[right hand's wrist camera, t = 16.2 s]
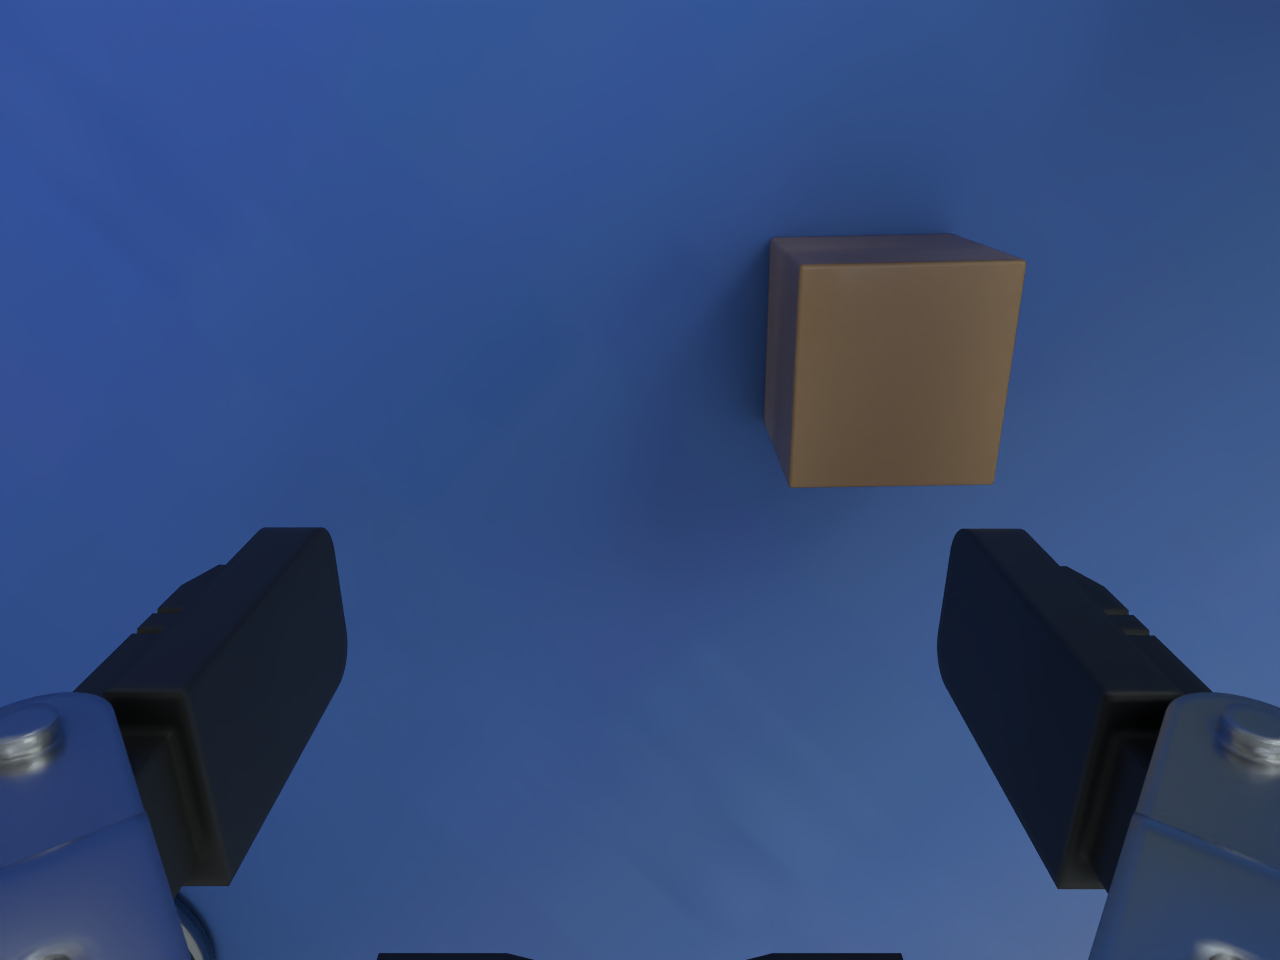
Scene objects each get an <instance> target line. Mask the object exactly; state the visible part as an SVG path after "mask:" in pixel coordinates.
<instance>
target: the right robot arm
mask: <svg viewBox="0 0 1280 960" xmlns="http://www.w3.org/2000/svg"><path fill="white" fill-rule="evenodd" d="M1128 611H1129V610H1128V609H1127V608H1126V607H1124V606H1123V605H1122V604H1121V603H1120V602H1119V601H1118V600H1117V599H1116V598H1115V597H1114V596H1113V595H1112V594H1111V593H1110V592H1109V591H1108V590H1107V589H1106V588H1105V587H1104V586H1102V585H1100V584H1098V583H1096V582H1095V581H1093V580H1091V579H1089V578H1087V577H1085V576H1083V575H1082V574H1080V573H1078V572H1076V571H1074V570H1072V569H1071V568H1069V567H1067V566H1059V565H1058V564H1057V563H1056V562H1055V561H1054V560H1053V559H1052V558H1051V557H1050V556H1049V555H1048V554H1047V553H1046V552H1045V551H1044V550H1043V548H1042V547H1041V546H1040V545H1039V544H1038V543H1037V542H1036V541H1035V540H1034V539H1033V538H1032V537H1031V536H1030V535H1029V534H1028V533H1027V532H1026V531H1024V530H1022V529H960V530H959V531H958V532H957V533H956V535H955V537H954V539H953V542H952V545H951V551H950V557H949V564H948V570H947V577H946V584H945V590H944V597H943V603H942V610H941V617H940V623H939V630H938V638H937V654H938V663H939V669H940V673H941V677H942V680H943V682H944V684H945V686H946V688H947V690H948V692H949V694H950V696H951V697H952V699H953V701H954V703H955V705H956V706H957V708H958V710H959V712H960V714H961V715H962V717H963V719H964V721H965V723H966V724H967V726H968V728H969V730H970V732H971V733H972V735H973V737H974V739H975V741H976V742H977V744H978V746H979V748H980V750H981V751H982V753H983V755H984V757H985V759H986V760H987V762H988V764H989V766H990V768H991V769H992V771H993V773H994V775H995V777H996V778H997V780H998V782H999V784H1000V786H1001V787H1002V789H1003V791H1004V793H1005V795H1006V796H1007V798H1008V800H1009V802H1010V804H1011V805H1012V807H1013V809H1014V811H1015V813H1016V814H1017V816H1018V818H1019V820H1020V822H1021V823H1022V825H1023V827H1024V829H1025V831H1026V832H1027V834H1028V836H1029V838H1030V840H1031V841H1032V843H1033V845H1034V847H1035V849H1036V850H1037V852H1038V854H1039V856H1040V858H1041V859H1042V861H1043V863H1044V865H1045V867H1046V868H1047V870H1048V872H1049V874H1050V876H1051V877H1052V879H1053V881H1054V883H1055V885H1056V886H1057V888H1058V889H1105V890H1106V891H1107V893H1108V897H1107V900H1106V903H1105V906H1104V910H1103V913H1102V916H1101V920H1100V923H1099V926H1098V929H1097V933H1096V936H1095V939H1094V942H1093V946H1092V949H1091V952H1090V955H1089V959H1088V960H1280V708H1279V707H1276V706H1273V705H1270V704H1268V703H1265V702H1262V701H1258V700H1255V699H1251V698H1247V697H1243V696H1238V695H1233V694H1226V693H1217V692H1212V691H1211V690H1210V689H1209V688H1208V687H1207V686H1206V685H1205V684H1204V683H1203V682H1202V681H1201V680H1200V679H1199V678H1198V677H1197V676H1196V675H1195V674H1194V673H1192V672H1191V671H1190V670H1189V669H1188V668H1187V667H1186V666H1185V665H1184V664H1183V663H1182V662H1181V661H1180V660H1179V659H1178V658H1177V657H1176V656H1175V655H1174V654H1173V653H1172V652H1171V651H1170V650H1169V649H1168V648H1167V647H1166V646H1165V645H1164V644H1163V643H1162V642H1161V641H1160V640H1158V639H1157V638H1156V637H1155V636H1150V635H1149V630H1148V629H1147V628H1146V627H1145V626H1144V625H1143V624H1142V623H1141V622H1140V621H1139V620H1138V619H1137V618H1136V617H1135V616H1134V615H1129V613H1128ZM346 658H347V632H346V625H345V618H344V612H343V605H342V598H341V592H340V585H339V578H338V571H337V565H336V558H335V551H334V546H333V542H332V538H331V536H330V534H329V532H328V531H327V530H326V529H325V528H262V529H260V530H259V531H258V532H257V533H256V534H255V535H254V536H253V537H252V538H251V539H250V540H249V541H248V542H247V543H246V545H245V546H244V547H243V548H242V549H241V550H240V551H239V552H238V553H237V554H236V555H235V556H234V557H233V558H232V559H231V560H230V561H229V562H228V563H227V564H226V565H218V566H216V567H214V568H212V569H210V570H209V571H207V572H205V573H203V574H201V575H199V576H198V577H196V578H194V579H192V580H190V581H188V582H186V583H185V584H183V585H181V586H180V587H179V588H178V589H177V590H176V591H175V592H174V593H173V594H172V595H171V596H170V597H169V598H168V599H167V600H166V601H165V602H164V603H163V604H162V605H161V606H160V607H159V608H158V612H157V614H152V615H151V616H150V617H149V618H148V619H147V620H146V621H145V622H144V623H143V624H141V625H140V626H139V627H138V628H137V634H131V635H130V636H129V637H128V638H127V639H126V640H125V641H124V642H123V643H122V644H121V645H120V646H119V647H118V648H117V649H116V650H115V651H114V652H113V653H112V654H111V655H110V656H109V657H108V658H107V659H106V660H105V661H104V662H103V663H102V664H101V665H100V666H99V667H98V668H97V669H96V670H95V671H94V672H92V673H91V674H90V675H89V676H88V677H87V678H86V679H85V680H84V681H83V682H82V683H81V684H80V685H79V686H78V687H77V688H76V689H75V690H74V691H73V692H63V693H54V694H47V695H42V696H37V697H33V698H29V699H25V700H22V701H18V702H15V703H12V704H10V705H7V706H4V707H1V708H0V960H215V958H214V952H213V948H212V945H211V942H210V940H209V937H208V935H207V933H206V931H205V930H204V928H203V927H202V925H201V923H200V922H199V921H198V919H197V918H196V917H195V916H194V914H193V913H192V912H191V911H190V910H189V909H188V908H187V907H186V906H185V905H184V904H183V903H182V902H181V901H180V900H179V899H178V898H176V895H177V894H178V892H179V890H180V889H181V887H182V886H229V885H230V883H231V881H232V879H233V877H234V876H235V874H236V872H237V870H238V868H239V867H240V865H241V863H242V861H243V859H244V857H245V856H246V854H247V852H248V850H249V848H250V846H251V845H252V843H253V841H254V839H255V837H256V836H257V834H258V832H259V830H260V828H261V826H262V825H263V823H264V821H265V819H266V817H267V815H268V814H269V812H270V810H271V808H272V806H273V805H274V803H275V801H276V799H277V797H278V795H279V794H280V792H281V790H282V788H283V786H284V784H285V783H286V781H287V779H288V777H289V775H290V774H291V772H292V770H293V768H294V766H295V764H296V763H297V761H298V759H299V757H300V755H301V753H302V752H303V750H304V748H305V746H306V744H307V743H308V741H309V739H310V737H311V735H312V733H313V732H314V730H315V728H316V726H317V724H318V722H319V721H320V719H321V717H322V715H323V713H324V711H325V710H326V708H327V706H328V704H329V702H330V701H331V699H332V697H333V695H334V693H335V691H336V690H337V688H338V686H339V684H340V682H341V679H342V677H343V673H344V670H345V665H346ZM377 960H532V959H528V958H524V957H520V956H516V955H512V954H508V953H379V954H378V958H377ZM748 960H903V958H902V954H901V953H772V954H768V955H764V956H760V957H756V958H752V959H748Z"/></svg>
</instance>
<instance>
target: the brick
mask: <svg viewBox="0 0 1280 960" xmlns="http://www.w3.org/2000/svg"><path fill="white" fill-rule="evenodd" d="M1025 269H1026V261H1025V260H1023V259H1020V258H1018V257H1015V256H1012V255H1009V254H1006V253H1004V252H1001V251H998V250H995V249H993V248H990V247H987V246H984V245H981V244H979V243H976V242H973V241H970V240H968V239H965V238H962V237H959V236H957V235H954V234H914V235H868V236H821V237H775V238H772V239H771V241H770V263H769V291H768V319H767V347H766V375H765V404H764V423H765V426H766V428H767V431H768V434H769V436H770V439H771V441H772V444H773V446H774V449H775V452H776V454H777V457H778V459H779V462H780V464H781V467H782V470H783V472H784V475H785V477H786V480H787V482H788V485H789V487H791V488H808V487H868V486H929V485H989V484H993V483H994V478H995V471H996V464H997V458H998V451H999V444H1000V437H1001V431H1002V424H1003V417H1004V411H1005V404H1006V397H1007V390H1008V384H1009V377H1010V370H1011V363H1012V357H1013V350H1014V343H1015V336H1016V330H1017V323H1018V316H1019V309H1020V303H1021V296H1022V289H1023V283H1024V276H1025Z"/></svg>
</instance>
